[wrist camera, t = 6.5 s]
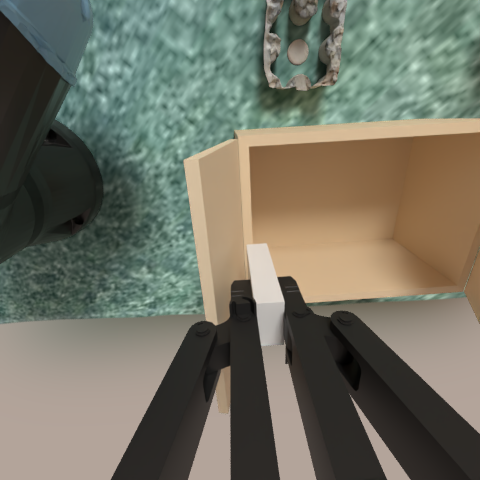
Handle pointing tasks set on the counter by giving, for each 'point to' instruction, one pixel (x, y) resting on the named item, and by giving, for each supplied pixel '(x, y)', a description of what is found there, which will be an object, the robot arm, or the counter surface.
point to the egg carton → (298, 49)
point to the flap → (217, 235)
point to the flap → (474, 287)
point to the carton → (364, 205)
